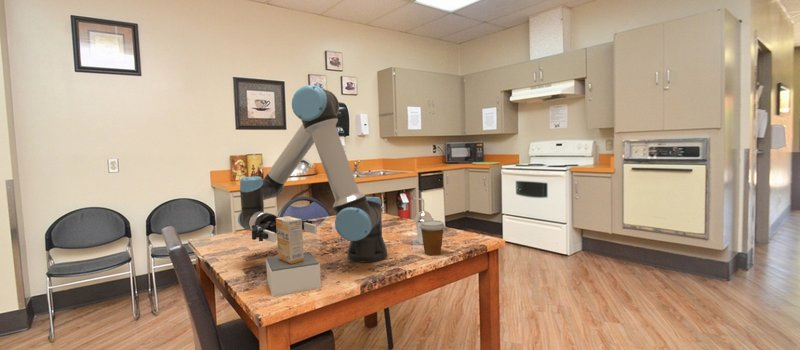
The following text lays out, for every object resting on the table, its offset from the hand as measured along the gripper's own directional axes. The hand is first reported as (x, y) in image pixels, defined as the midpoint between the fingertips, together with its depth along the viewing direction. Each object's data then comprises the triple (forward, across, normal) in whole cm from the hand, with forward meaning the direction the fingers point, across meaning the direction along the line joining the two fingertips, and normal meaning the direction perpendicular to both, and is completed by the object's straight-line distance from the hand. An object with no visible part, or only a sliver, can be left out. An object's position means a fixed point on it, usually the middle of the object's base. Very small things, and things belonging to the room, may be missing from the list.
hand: (296, 233), depth 116 cm
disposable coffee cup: (+7, -54, -17) cm, 57 cm away
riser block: (-3, 0, -17) cm, 17 cm away
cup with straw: (-6, -62, -17) cm, 65 cm away
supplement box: (-3, 0, -9) cm, 10 cm away
